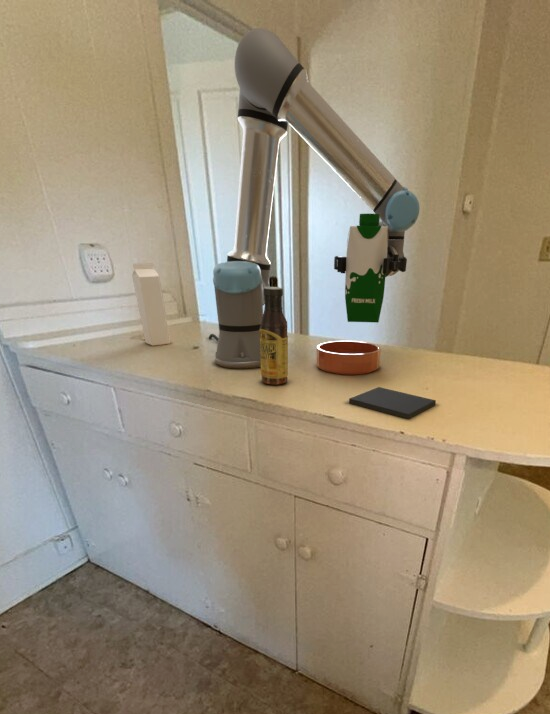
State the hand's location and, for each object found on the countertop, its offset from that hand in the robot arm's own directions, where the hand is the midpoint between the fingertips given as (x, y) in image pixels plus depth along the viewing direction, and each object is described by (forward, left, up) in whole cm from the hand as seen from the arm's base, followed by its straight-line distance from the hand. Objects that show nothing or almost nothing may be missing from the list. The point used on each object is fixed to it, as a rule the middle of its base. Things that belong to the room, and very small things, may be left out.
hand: (361, 265), depth 89 cm
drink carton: (-2, +4, -11) cm, 12 cm away
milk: (-72, -8, -24) cm, 77 cm away
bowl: (-9, +9, -24) cm, 27 cm away
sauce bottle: (-13, -14, -24) cm, 31 cm away
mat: (+16, -9, -24) cm, 30 cm away
